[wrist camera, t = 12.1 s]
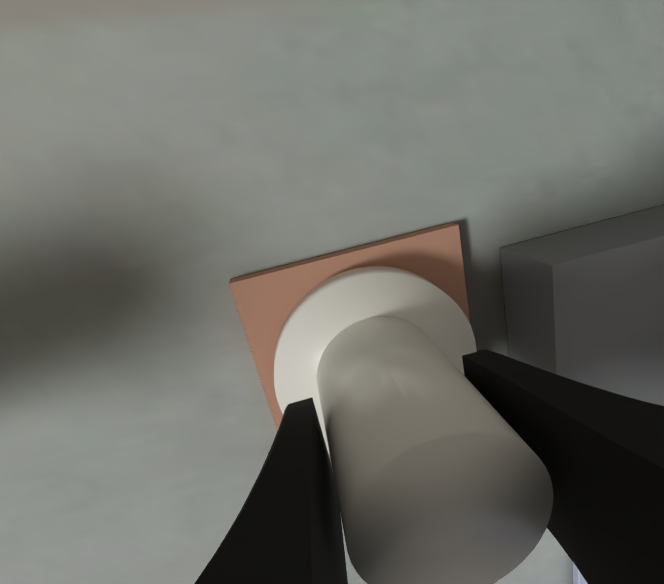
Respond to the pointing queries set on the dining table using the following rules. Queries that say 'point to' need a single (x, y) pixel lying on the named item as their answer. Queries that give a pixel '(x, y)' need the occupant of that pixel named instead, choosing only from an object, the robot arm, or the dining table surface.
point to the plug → (410, 432)
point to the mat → (299, 278)
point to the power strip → (592, 304)
